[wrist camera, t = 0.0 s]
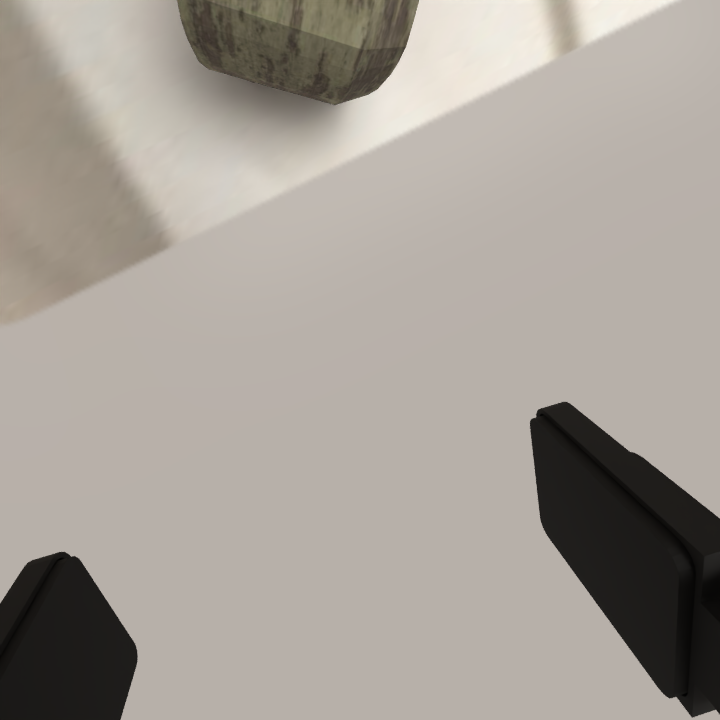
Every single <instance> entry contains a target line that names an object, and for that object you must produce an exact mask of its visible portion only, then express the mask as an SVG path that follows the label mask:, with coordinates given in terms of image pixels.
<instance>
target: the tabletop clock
mask: <svg viewBox="0 0 720 720" xmlns="http://www.w3.org/2000/svg"><path fill="white" fill-rule="evenodd" d="M177 1H178V7H179V12H180V17H181V21H182V24H183V27H184V30H185V33H186V36H187V39H188V41H189V43H190V45H191V47H192V49H193V51H194V53H195V55H196V57H197V59H198V61H199V62H200V63H201V64H203V65H204V66H205V67H207V68H208V69H210V70H214V71H217V72H221V73H224V74H228V75H231V76H235V77H238V78H242V79H245V80H248V81H251V82H254V83H255V82H256V83H260V84H263V85H267V86H270V87H274V88H277V89H281V90H284V91H288V92H291V93H295V94H298V95H302V96H305V97H309V98H313V99H316V100H320V101H323V102H327V103H330V104H334V105H336V104H340V103H343V102H346V101H349V100H352V99H356V98H359V97H362V96H365V95H368V94H370V93H372V92H373V91H375V90H377V89H378V88H379V87H380V86H381V85H382V83H383V82H384V81H385V80H386V79H387V78H388V77H389V76H390V75H391V73H392V72H393V70H394V68H395V67H396V65H397V64H398V62H399V60H400V58H401V56H402V54H403V52H404V50H405V48H406V45H407V41H408V38H409V35H410V31H411V28H412V24H413V21H414V17H415V14H416V10H417V6H418V2H419V0H177Z"/></svg>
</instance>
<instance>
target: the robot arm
mask: <svg viewBox="0 0 720 720" xmlns="http://www.w3.org/2000/svg"><path fill="white" fill-rule="evenodd" d="M536 416H537V417H536V418H533V419H531V421H530V429H531V439H532V447H533V457H534V465H535V475H536V484H537V493H538V502H539V511H540V519H541V523H542V526H543V528H544V530H545V532H546V534H547V536H548V537H549V538H550V540H551V541H552V543H553V544H554V545H555V547H556V548H557V549H558V551H559V552H560V554H561V555H562V556H563V558H564V559H565V560H566V562H567V563H568V565H569V566H570V567H571V569H572V570H573V571H574V573H575V574H576V576H577V577H578V578H579V580H580V581H581V582H582V584H583V585H584V586H585V588H586V589H587V591H588V592H589V593H590V595H591V596H592V597H593V599H594V600H595V602H596V603H597V604H598V606H599V607H600V609H601V610H602V611H603V613H604V614H605V615H606V617H607V618H608V619H609V621H610V622H611V624H612V625H613V626H614V628H615V629H616V630H617V632H618V633H619V634H620V636H621V637H622V639H623V640H624V641H625V643H626V644H627V646H628V647H629V648H630V650H631V651H632V652H633V654H634V655H635V656H636V658H637V659H638V661H639V662H640V663H641V665H642V666H643V667H644V669H645V670H646V672H647V673H648V674H649V676H650V677H651V678H652V680H653V681H654V683H655V684H656V685H657V687H658V688H659V689H660V690H661V692H662V693H663V694H664V695H665V696H667V697H668V698H673V697H677V698H678V699H679V700H680V702H681V703H682V705H683V706H684V707H685V709H686V710H687V711H688V712H689V714H690V715H691V717H695V716H698V715H701V714H704V713H707V712H710V711H713V710H717V711H718V713H719V714H720V518H718V517H717V516H716V515H715V514H713V513H712V512H711V511H710V510H708V509H707V508H706V507H704V506H703V505H702V504H700V503H699V502H698V501H697V500H696V499H694V498H693V497H692V496H691V495H689V494H688V493H687V492H686V491H684V490H683V489H682V488H680V487H679V486H678V485H677V484H675V483H674V482H673V481H672V480H670V479H669V478H668V477H666V476H665V475H664V474H663V473H662V472H660V471H659V470H658V469H656V468H655V467H654V466H652V465H651V464H650V463H649V462H648V461H646V460H645V459H644V458H643V457H641V456H639V455H638V454H635V453H633V452H629V451H628V450H627V449H626V448H624V447H623V446H622V445H621V444H619V443H618V442H617V441H616V440H614V439H613V438H612V437H611V436H610V435H608V434H607V433H606V432H605V431H603V430H602V429H601V428H600V427H598V426H597V425H596V424H595V423H593V422H592V421H591V420H590V419H588V418H587V417H586V416H585V415H583V414H582V413H581V412H580V411H578V410H577V409H576V408H575V407H574V406H572V405H571V404H570V403H568V402H562V403H558V404H555V405H551V406H548V407H545V408H541V409H539V410H538V411H537V414H536ZM136 665H137V649H136V645H135V643H134V642H133V640H132V639H131V637H130V636H129V634H128V633H127V631H126V630H125V628H124V626H123V625H122V624H121V622H120V621H119V619H118V617H117V616H116V614H115V613H114V611H113V610H112V608H111V606H110V605H109V603H108V602H107V600H106V599H105V597H104V596H103V594H102V593H101V591H100V590H99V588H98V587H97V585H96V584H95V582H94V581H93V579H92V577H91V576H90V575H89V573H88V571H87V570H86V568H85V567H84V565H83V564H82V562H81V561H80V560H79V559H78V558H77V557H75V556H73V557H71V556H70V555H69V554H67V553H65V552H59V553H55V554H52V555H49V556H45V557H42V558H39V559H35V560H32V561H31V562H28V563H27V565H26V566H25V567H24V568H23V570H22V571H21V573H20V574H19V576H18V577H17V579H16V580H15V582H14V583H13V585H12V586H11V588H10V589H9V591H8V593H7V594H6V596H5V597H4V599H3V600H2V602H1V603H0V720H120V719H121V716H122V713H123V709H124V706H125V702H126V699H127V696H128V692H129V689H130V686H131V682H132V679H133V675H134V672H135V669H136Z"/></svg>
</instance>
